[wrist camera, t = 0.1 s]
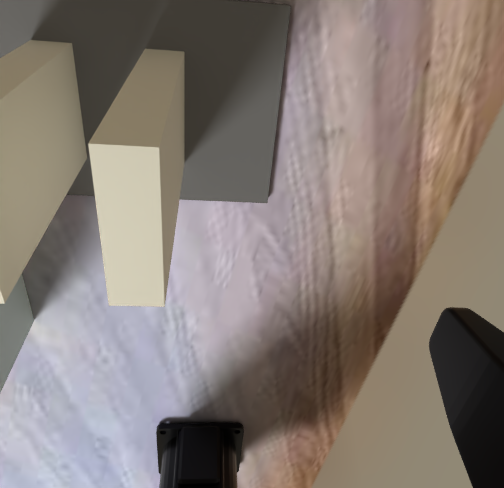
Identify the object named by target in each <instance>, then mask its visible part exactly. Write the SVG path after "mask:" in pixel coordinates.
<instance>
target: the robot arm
mask: <svg viewBox="0 0 504 488" xmlns="http://www.w3.org/2000/svg"><path fill="white" fill-rule="evenodd" d="M429 349H430V354H431V358H432V362H433V365H434V369H435V373H436V377H437V381H438V384H439V388H440V392H441V396H442V399H443V403H444V407H445V411H446V415H447V418H448V421H449V425H450V428H451V430H452V433H453V436H454V439H455V442H456V444H457V447H458V450H459V452H460V455H461V458H462V460H463V463H464V465H465V468H466V470H467V473H468V476H469V479H470V481H471V484H472V486H473V488H504V332H502V331H501V330H499V329H498V328H496V327H495V326H494V325H492V324H491V323H489V322H488V321H486V320H485V319H484V318H482V317H481V316H479V315H478V314H476V313H475V312H473V311H472V310H470V309H468V308H451V307H450V308H446V309H445V310H444V311H443V312H442V313H441V316H440V318H439V320H438V322H437V324H436V326H435V329H434V331H433V333H432V335H431V337H430V342H429ZM243 433H244V429H243V425H242V424H240V423H192V424H160V425H158V426H157V432H156V434H157V450H158V467H159V473H160V474H161V476H160V486H159V488H237V472H238V471H239V464H240V456H241V449H242V441H243Z"/></svg>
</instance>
